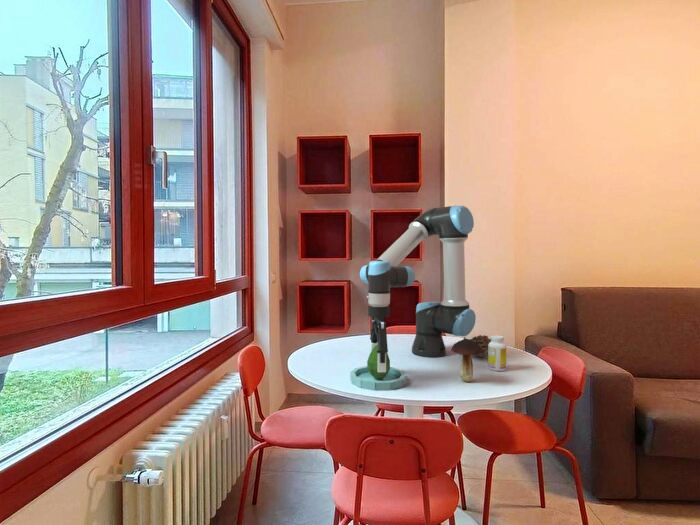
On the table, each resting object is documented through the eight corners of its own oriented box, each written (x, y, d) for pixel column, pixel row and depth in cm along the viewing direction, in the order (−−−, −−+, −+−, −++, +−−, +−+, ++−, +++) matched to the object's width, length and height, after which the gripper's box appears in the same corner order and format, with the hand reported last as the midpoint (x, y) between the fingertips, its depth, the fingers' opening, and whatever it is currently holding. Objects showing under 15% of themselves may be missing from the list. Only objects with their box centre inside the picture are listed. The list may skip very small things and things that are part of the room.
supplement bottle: (505, 367, 152) (506, 335, 152) (506, 372, 146) (507, 338, 146) (487, 366, 155) (488, 334, 154) (487, 370, 148) (488, 337, 148)
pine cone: (501, 360, 162) (502, 337, 162) (482, 362, 159) (483, 338, 159) (469, 348, 183) (470, 327, 183) (452, 350, 180) (452, 328, 180)
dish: (398, 371, 145) (398, 365, 145) (411, 389, 127) (411, 381, 126) (347, 373, 143) (348, 366, 143) (354, 391, 124) (354, 383, 124)
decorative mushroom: (464, 388, 128) (465, 343, 128) (443, 378, 138) (444, 336, 138) (489, 384, 133) (490, 340, 132) (468, 375, 143) (468, 334, 142)
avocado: (387, 374, 139) (389, 341, 138) (391, 382, 131) (392, 347, 131) (365, 374, 139) (366, 341, 138) (367, 381, 131) (368, 346, 130)
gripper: (363, 300, 146) (362, 357, 147) (374, 310, 122) (373, 377, 122) (382, 300, 147) (381, 356, 147) (397, 310, 123) (396, 377, 123)
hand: (378, 366), depth 135 cm, fingers open, 12 cm apart
